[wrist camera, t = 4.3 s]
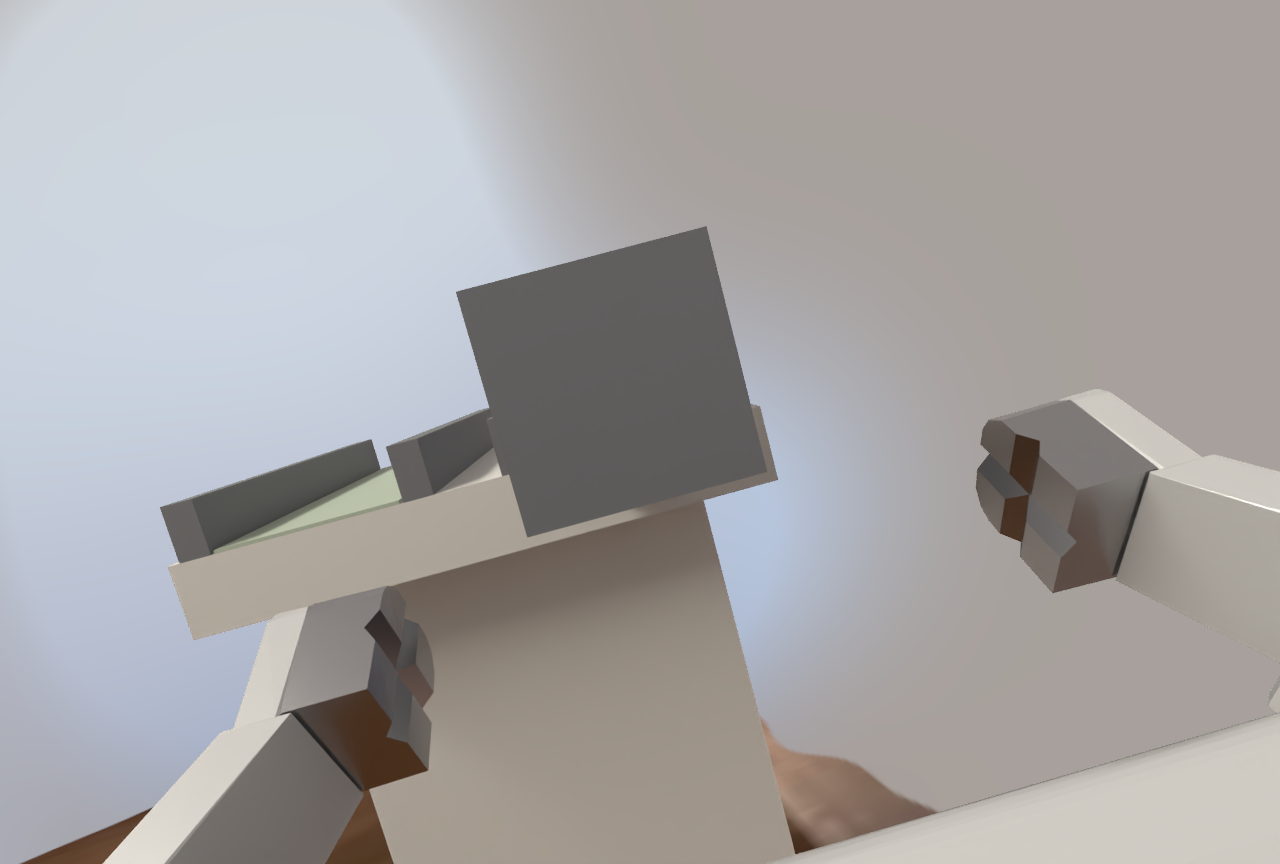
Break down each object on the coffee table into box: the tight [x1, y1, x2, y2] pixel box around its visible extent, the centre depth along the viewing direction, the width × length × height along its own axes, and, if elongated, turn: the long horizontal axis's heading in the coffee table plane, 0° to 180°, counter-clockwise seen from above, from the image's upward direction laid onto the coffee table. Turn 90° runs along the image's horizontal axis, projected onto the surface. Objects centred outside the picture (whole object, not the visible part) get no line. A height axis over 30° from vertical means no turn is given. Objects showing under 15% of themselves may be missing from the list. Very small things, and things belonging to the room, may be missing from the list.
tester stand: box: [160, 404, 795, 864], centre depth 26 cm, size 16×14×29 cm
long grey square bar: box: [456, 227, 767, 538], centre depth 20 cm, size 4×20×4 cm, turn 3°
